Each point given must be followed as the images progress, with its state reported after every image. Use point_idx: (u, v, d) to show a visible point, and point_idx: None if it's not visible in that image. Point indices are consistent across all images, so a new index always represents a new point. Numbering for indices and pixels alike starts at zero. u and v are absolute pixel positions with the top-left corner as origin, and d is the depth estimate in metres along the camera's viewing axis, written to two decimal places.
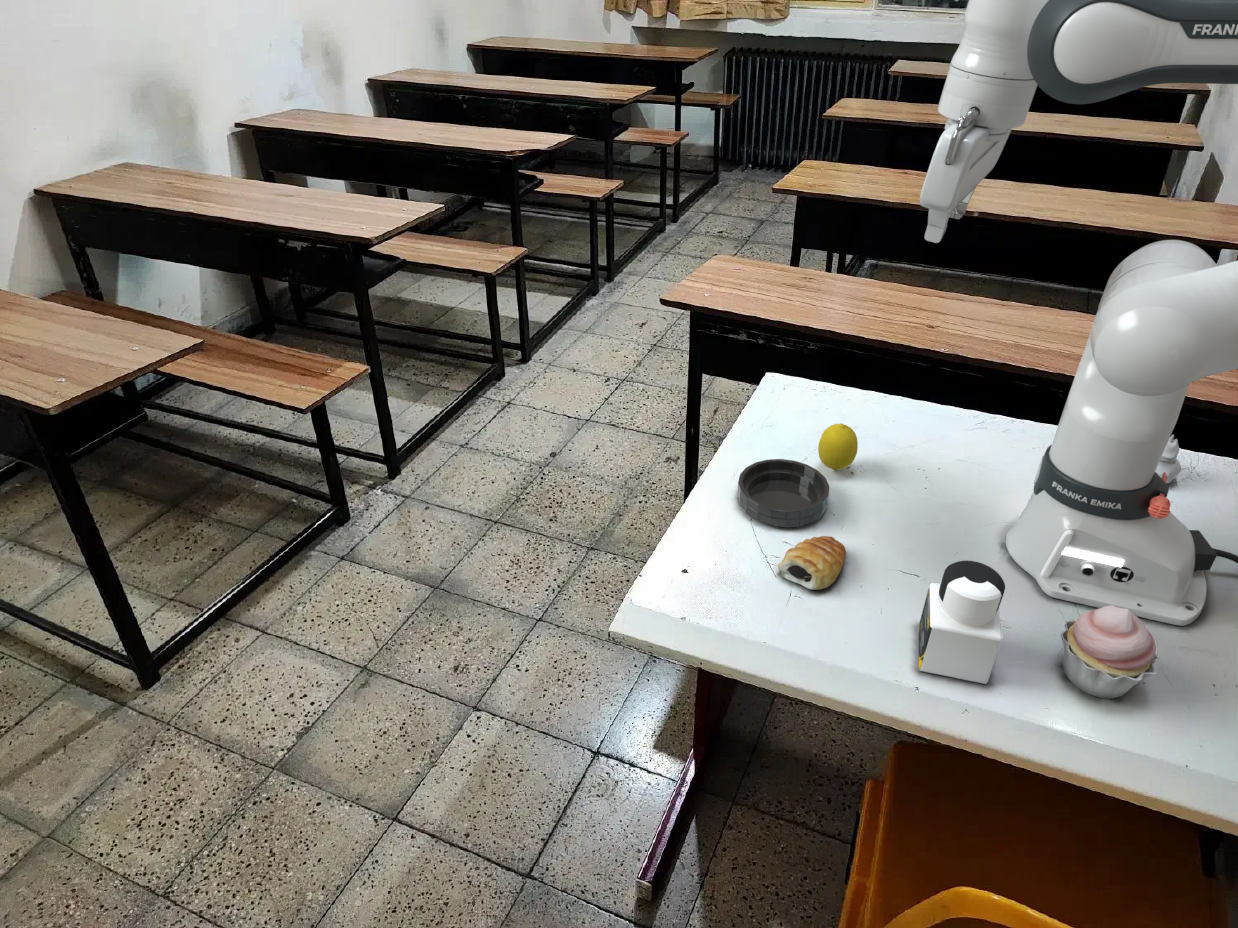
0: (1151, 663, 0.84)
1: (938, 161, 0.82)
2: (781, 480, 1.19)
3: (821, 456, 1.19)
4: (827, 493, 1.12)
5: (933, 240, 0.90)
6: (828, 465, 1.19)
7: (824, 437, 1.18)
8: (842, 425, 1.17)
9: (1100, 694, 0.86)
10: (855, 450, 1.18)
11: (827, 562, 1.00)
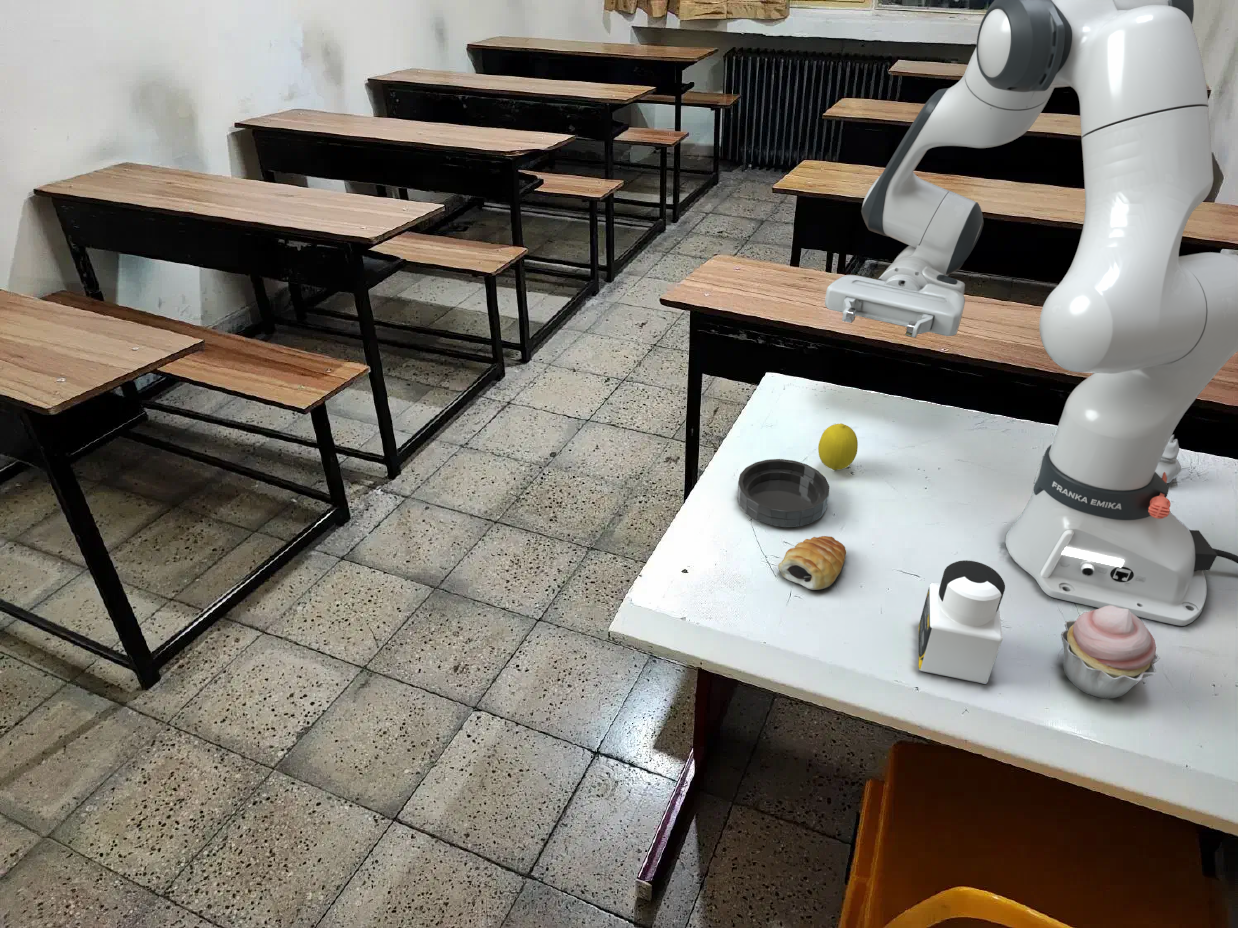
0: (1151, 663, 0.84)
1: None
2: (781, 480, 1.19)
3: (821, 456, 1.19)
4: (827, 493, 1.12)
5: (843, 314, 1.22)
6: (828, 465, 1.19)
7: (824, 437, 1.18)
8: (842, 425, 1.17)
9: (1100, 694, 0.86)
10: (855, 450, 1.18)
11: (827, 562, 1.00)
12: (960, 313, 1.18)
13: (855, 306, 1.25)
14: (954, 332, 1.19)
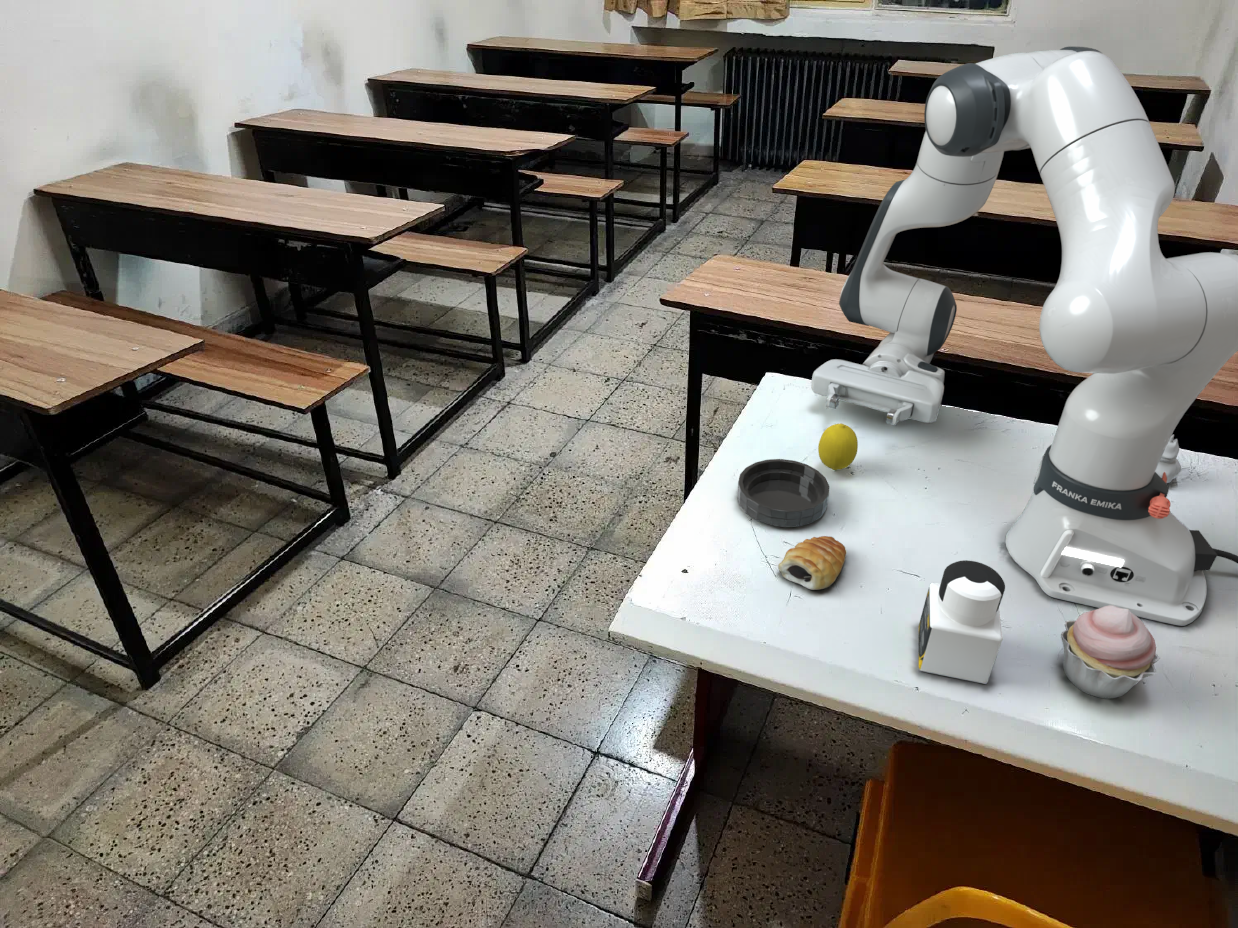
0: (1151, 663, 0.84)
1: None
2: (781, 480, 1.19)
3: (821, 456, 1.19)
4: (827, 493, 1.12)
5: (827, 400, 1.28)
6: (828, 465, 1.19)
7: (824, 437, 1.18)
8: (842, 425, 1.17)
9: (1100, 694, 0.86)
10: (855, 450, 1.18)
11: (827, 562, 1.00)
12: (938, 402, 1.24)
13: (839, 391, 1.31)
14: (933, 419, 1.25)
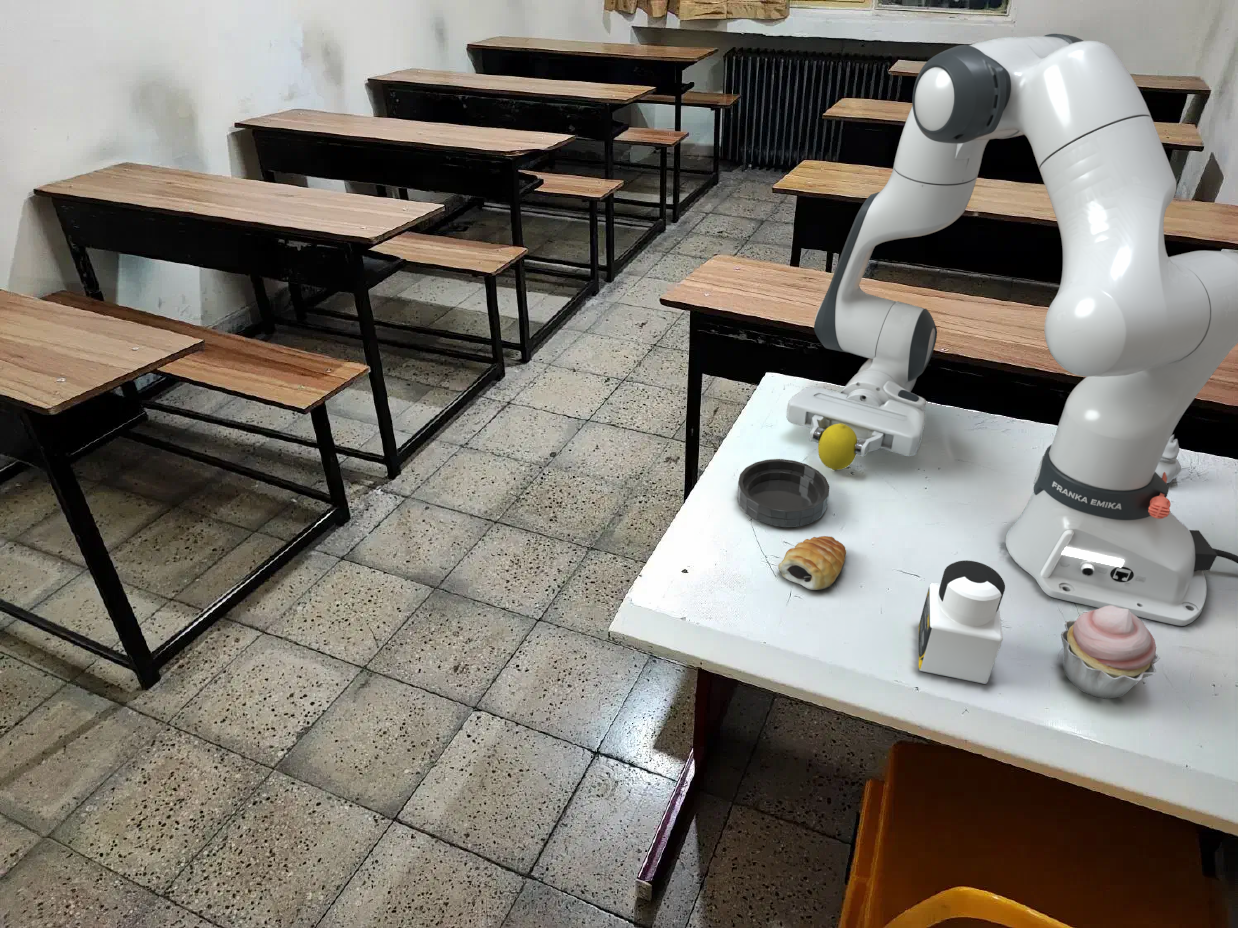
0: (1151, 663, 0.84)
1: None
2: (781, 480, 1.19)
3: (821, 456, 1.19)
4: (827, 493, 1.12)
5: (810, 434, 1.20)
6: (828, 465, 1.19)
7: (824, 437, 1.18)
8: (842, 425, 1.17)
9: (1100, 694, 0.86)
10: None
11: (827, 563, 1.00)
12: (919, 434, 1.17)
13: (824, 423, 1.24)
14: (914, 452, 1.18)
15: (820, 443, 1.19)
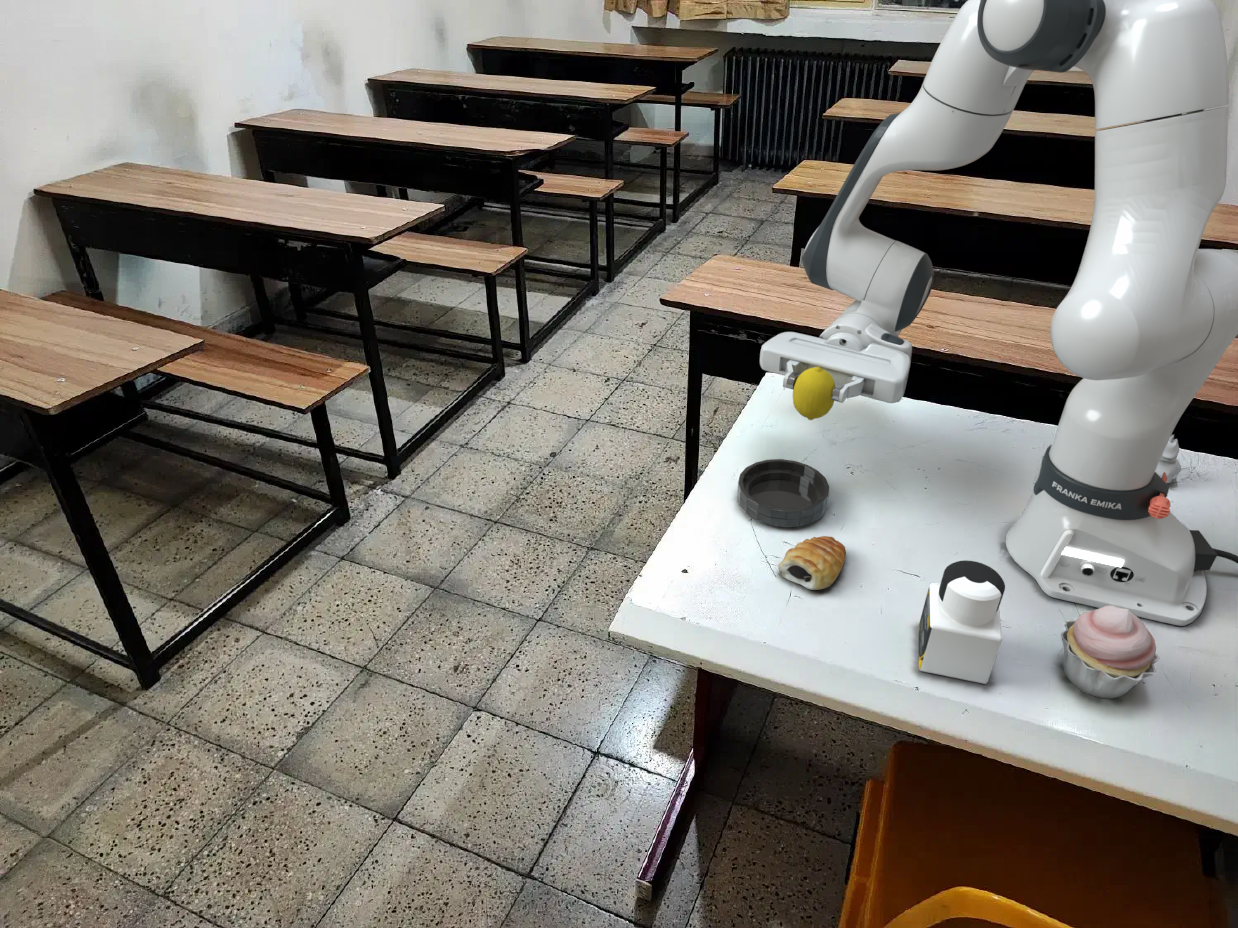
0: (1151, 663, 0.84)
1: None
2: (781, 480, 1.19)
3: (795, 403, 1.08)
4: (827, 493, 1.12)
5: (783, 380, 1.10)
6: (803, 413, 1.08)
7: (798, 382, 1.07)
8: (818, 368, 1.06)
9: (1100, 694, 0.86)
10: None
11: (827, 563, 1.00)
12: (903, 378, 1.06)
13: (799, 370, 1.13)
14: (897, 399, 1.07)
15: (794, 389, 1.08)
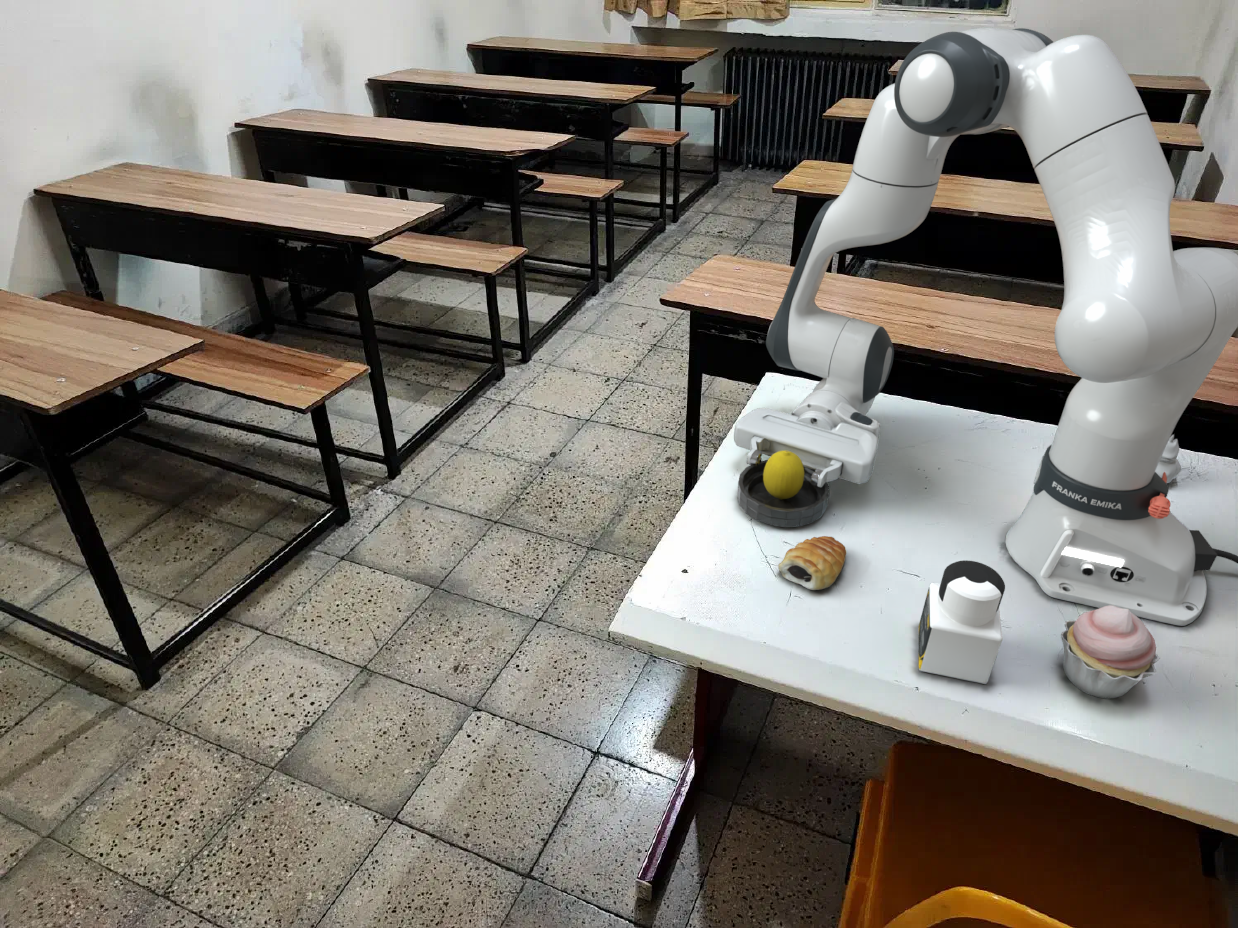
0: (1151, 663, 0.84)
1: None
2: None
3: (766, 485, 1.13)
4: (827, 493, 1.12)
5: (747, 457, 1.14)
6: (773, 494, 1.13)
7: (768, 465, 1.12)
8: (787, 452, 1.11)
9: (1100, 694, 0.86)
10: (801, 479, 1.11)
11: (827, 563, 1.00)
12: (870, 461, 1.10)
13: (764, 445, 1.17)
14: (865, 479, 1.11)
15: (765, 471, 1.12)
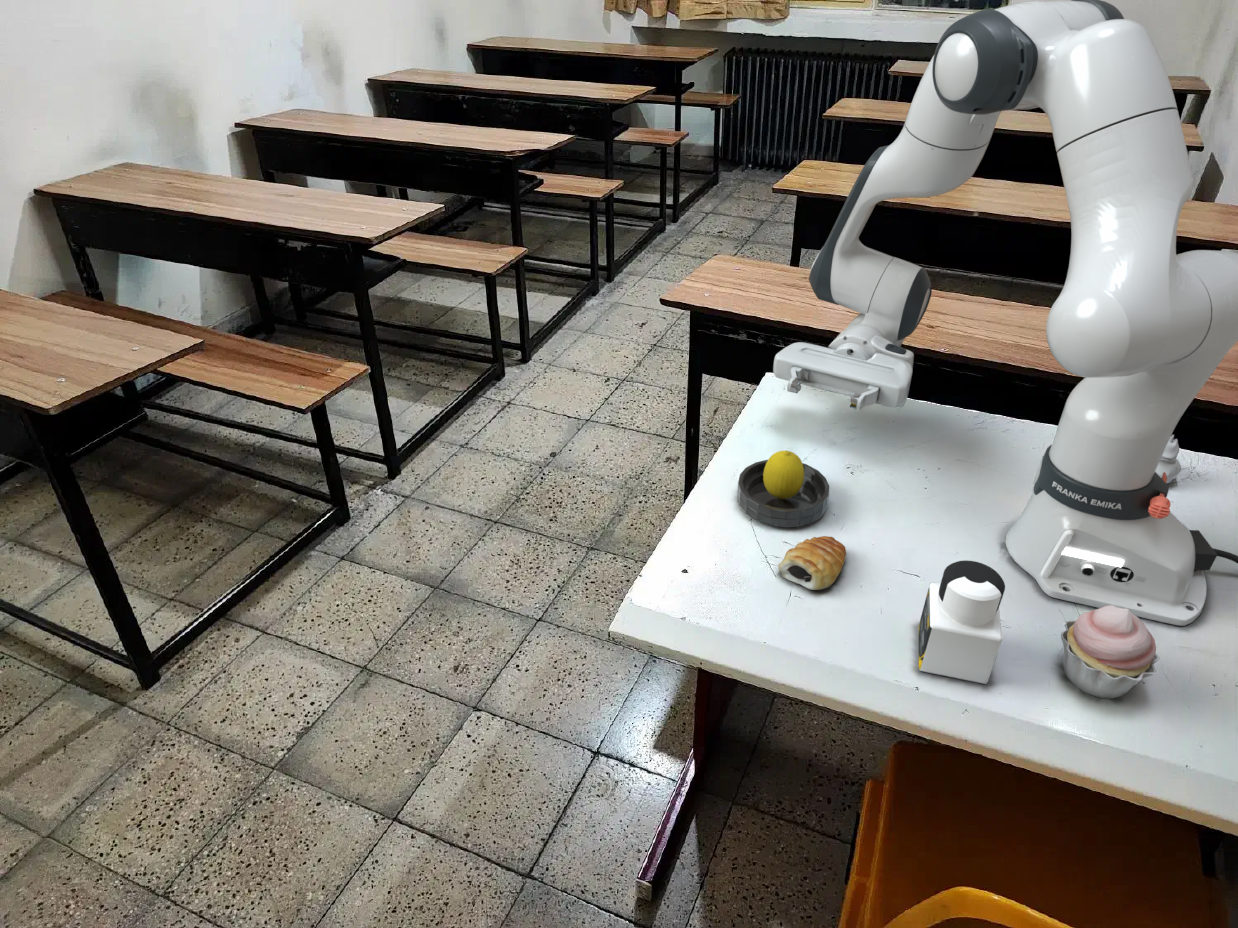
0: (1151, 663, 0.84)
1: None
2: None
3: (766, 485, 1.13)
4: (827, 493, 1.12)
5: (788, 385, 1.20)
6: (773, 494, 1.13)
7: (768, 465, 1.12)
8: (787, 452, 1.11)
9: (1100, 694, 0.86)
10: (801, 479, 1.11)
11: (827, 563, 1.00)
12: (906, 385, 1.16)
13: (802, 375, 1.23)
14: (901, 404, 1.17)
15: (765, 471, 1.12)
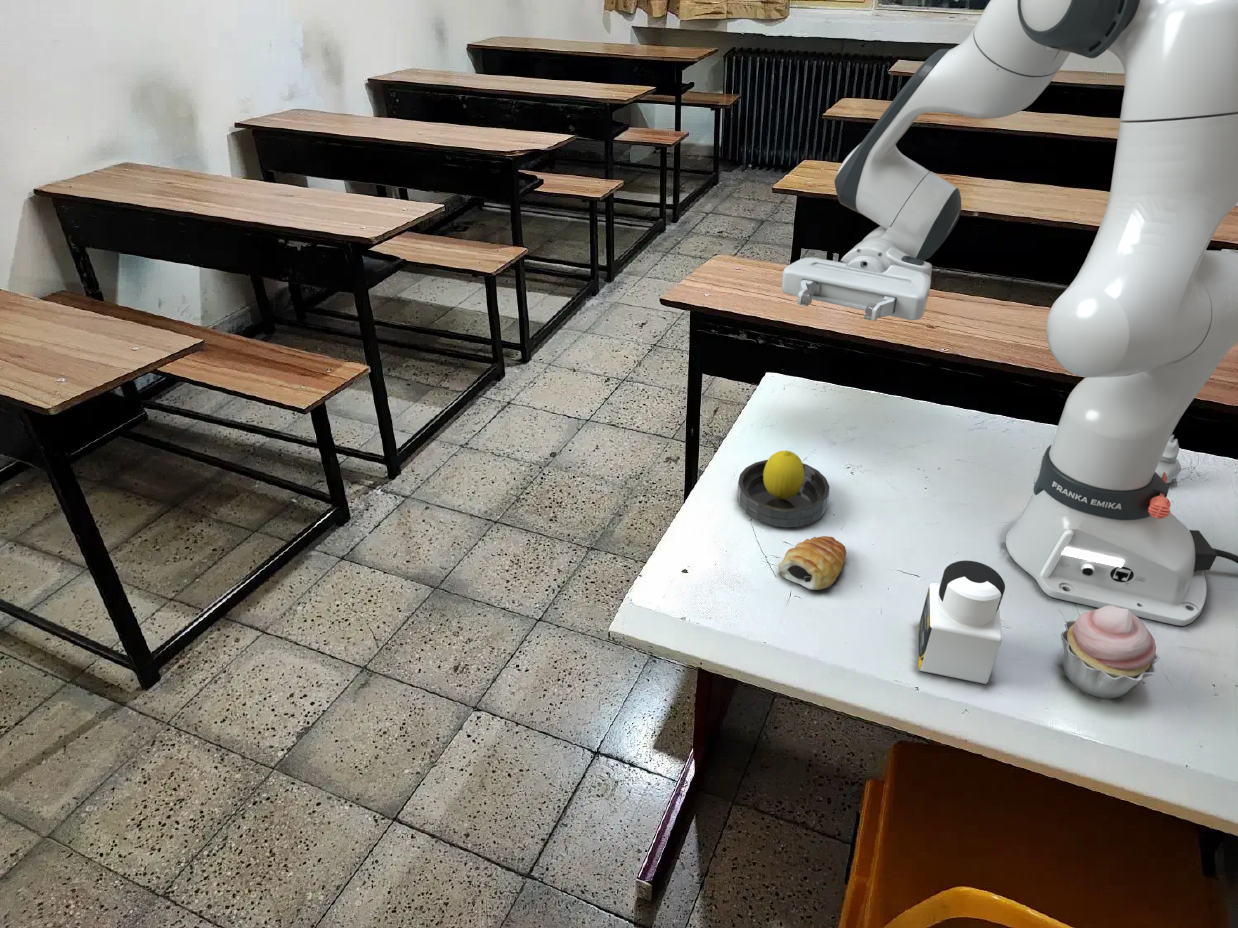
0: (1151, 663, 0.84)
1: None
2: None
3: (766, 485, 1.13)
4: (827, 493, 1.12)
5: (798, 297, 1.12)
6: (773, 494, 1.13)
7: (768, 465, 1.12)
8: (787, 452, 1.11)
9: (1100, 694, 0.86)
10: (801, 479, 1.11)
11: (827, 563, 1.00)
12: (924, 295, 1.08)
13: (813, 289, 1.16)
14: (919, 315, 1.09)
15: (765, 471, 1.12)
